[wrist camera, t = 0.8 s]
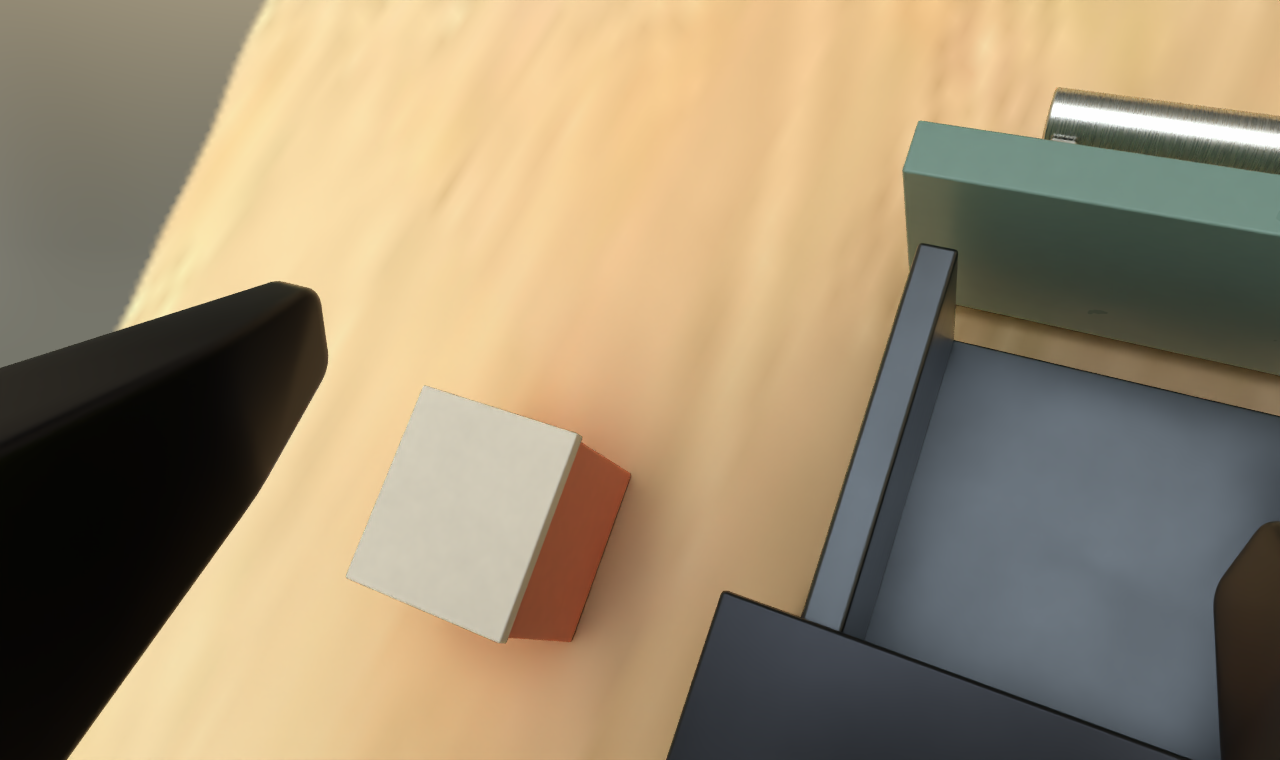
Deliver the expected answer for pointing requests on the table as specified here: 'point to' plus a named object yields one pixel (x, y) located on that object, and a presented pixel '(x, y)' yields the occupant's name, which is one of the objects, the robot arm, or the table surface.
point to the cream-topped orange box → (490, 520)
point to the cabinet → (860, 703)
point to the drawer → (1069, 414)
